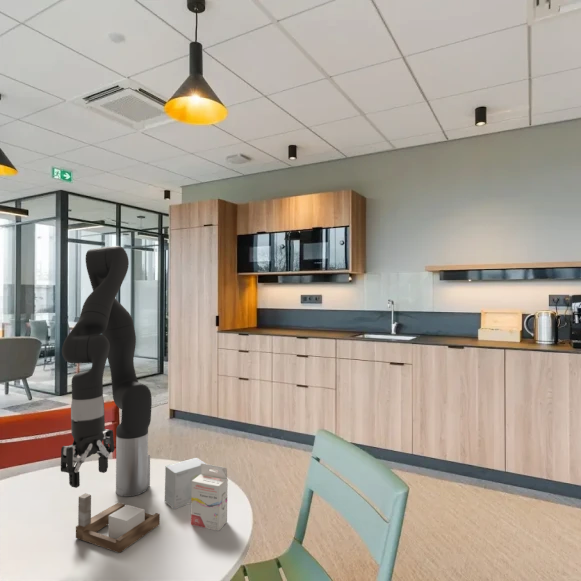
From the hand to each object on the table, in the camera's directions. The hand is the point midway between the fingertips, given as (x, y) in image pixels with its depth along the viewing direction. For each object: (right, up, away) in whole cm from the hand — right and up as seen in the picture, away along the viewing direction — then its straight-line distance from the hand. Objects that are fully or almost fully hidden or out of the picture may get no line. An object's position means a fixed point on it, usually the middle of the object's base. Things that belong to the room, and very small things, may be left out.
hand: (89, 479), depth 106 cm
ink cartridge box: (+29, -15, +6) cm, 33 cm away
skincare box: (+19, -15, +19) cm, 31 cm away
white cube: (+9, -15, 0) cm, 17 cm away
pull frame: (+7, -14, +1) cm, 16 cm away
